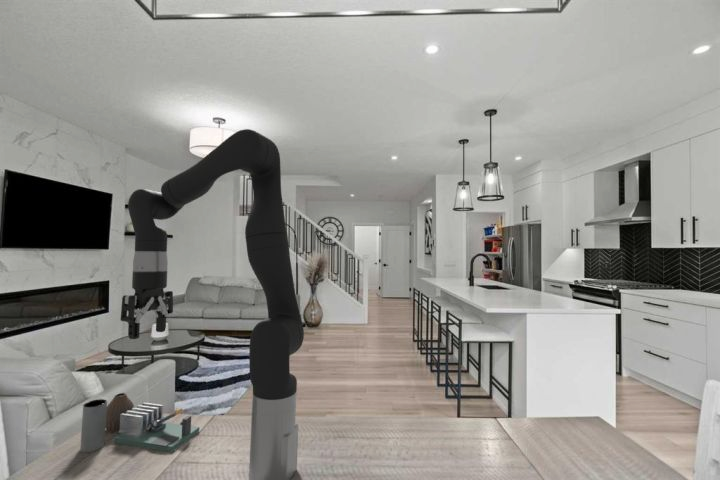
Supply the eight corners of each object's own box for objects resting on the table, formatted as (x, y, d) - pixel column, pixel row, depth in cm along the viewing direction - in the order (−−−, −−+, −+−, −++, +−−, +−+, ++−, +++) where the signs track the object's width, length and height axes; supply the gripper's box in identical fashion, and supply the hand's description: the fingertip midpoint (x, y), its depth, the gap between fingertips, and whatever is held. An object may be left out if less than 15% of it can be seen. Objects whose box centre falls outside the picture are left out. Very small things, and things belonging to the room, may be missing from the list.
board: (199, 431, 93) (199, 426, 93) (170, 452, 82) (170, 446, 82) (146, 424, 96) (147, 418, 96) (112, 443, 86) (113, 437, 86)
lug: (190, 432, 90) (191, 416, 90) (185, 436, 88) (186, 419, 88) (185, 431, 90) (186, 415, 90) (179, 435, 88) (180, 418, 88)
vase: (117, 436, 89) (120, 401, 89) (95, 433, 90) (97, 398, 91) (140, 424, 95) (142, 391, 96) (118, 421, 97) (120, 388, 97)
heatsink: (169, 424, 93) (170, 405, 94) (145, 439, 85) (146, 418, 86) (144, 421, 95) (145, 402, 95) (118, 435, 87) (119, 414, 87)
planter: (76, 453, 81) (79, 407, 81) (85, 443, 85) (88, 399, 86) (99, 451, 82) (102, 406, 83) (107, 441, 86) (110, 398, 87)
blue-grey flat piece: (184, 411, 91) (182, 406, 91) (175, 416, 88) (173, 412, 88) (162, 422, 92) (160, 418, 92) (152, 428, 89) (151, 424, 89)
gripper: (141, 270, 81) (138, 342, 80) (182, 269, 95) (180, 330, 94) (113, 270, 83) (110, 340, 82) (158, 269, 97) (156, 329, 96)
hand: (147, 335), depth 88 cm, fingers open, 8 cm apart
